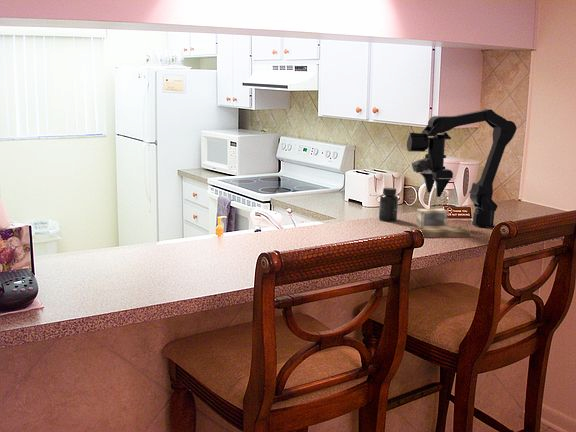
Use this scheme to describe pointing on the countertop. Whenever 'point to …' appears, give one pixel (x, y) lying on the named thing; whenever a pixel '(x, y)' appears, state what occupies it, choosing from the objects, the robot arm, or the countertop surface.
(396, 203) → the supplement bottle
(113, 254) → the countertop surface
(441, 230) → the notched ledge
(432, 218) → the ash frame block
